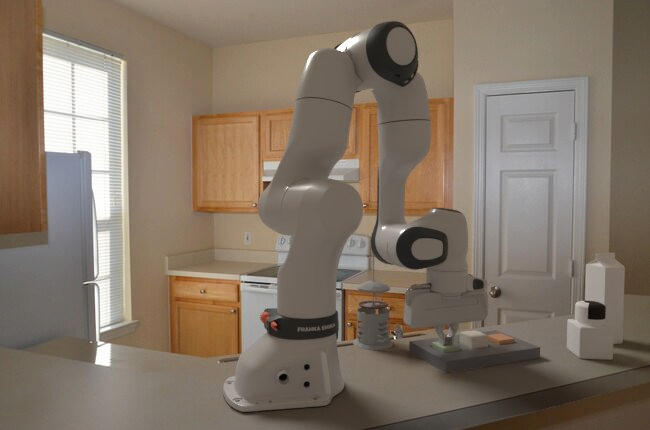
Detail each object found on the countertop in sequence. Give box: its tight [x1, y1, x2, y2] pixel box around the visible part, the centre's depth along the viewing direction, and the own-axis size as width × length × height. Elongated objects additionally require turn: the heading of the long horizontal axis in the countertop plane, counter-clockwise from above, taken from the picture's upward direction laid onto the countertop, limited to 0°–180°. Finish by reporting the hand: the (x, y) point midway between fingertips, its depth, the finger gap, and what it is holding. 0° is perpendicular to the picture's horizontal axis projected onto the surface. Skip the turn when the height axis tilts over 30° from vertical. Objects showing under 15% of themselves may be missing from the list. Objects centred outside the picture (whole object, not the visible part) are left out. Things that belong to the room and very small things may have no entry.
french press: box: [352, 242, 394, 351], centre depth 115 cm, size 10×12×25 cm
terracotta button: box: [488, 333, 514, 345], centre depth 109 cm, size 4×4×3 cm
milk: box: [584, 252, 626, 345], centre depth 117 cm, size 6×6×22 cm
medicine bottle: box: [566, 300, 614, 361], centre depth 107 cm, size 7×7×12 cm
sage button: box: [432, 342, 460, 353], centre depth 104 cm, size 4×4×3 cm
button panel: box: [408, 330, 541, 374], centre depth 107 cm, size 25×14×2 cm, turn 111°
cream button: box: [459, 329, 488, 349], centre depth 107 cm, size 4×4×3 cm
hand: (446, 343), depth 104 cm, fingers closed, pressing on sage button
